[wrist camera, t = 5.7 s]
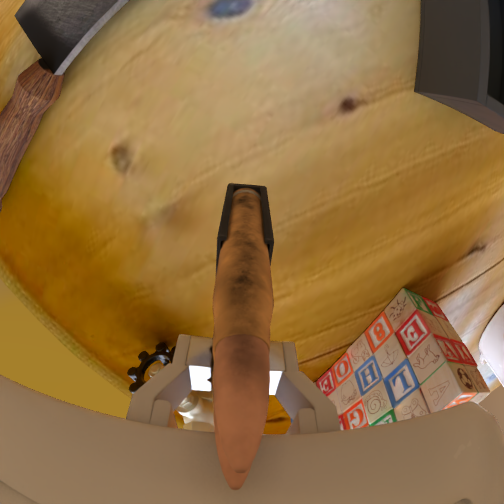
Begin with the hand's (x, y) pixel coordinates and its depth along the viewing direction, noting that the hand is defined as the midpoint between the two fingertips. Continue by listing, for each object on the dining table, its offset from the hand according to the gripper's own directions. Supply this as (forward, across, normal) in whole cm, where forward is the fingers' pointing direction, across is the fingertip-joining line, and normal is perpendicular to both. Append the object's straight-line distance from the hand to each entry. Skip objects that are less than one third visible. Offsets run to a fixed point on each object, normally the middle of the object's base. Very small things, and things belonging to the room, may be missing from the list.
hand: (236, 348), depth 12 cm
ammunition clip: (+5, 0, 0) cm, 5 cm away
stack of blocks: (+11, +14, -15) cm, 23 cm away
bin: (+10, +16, +20) cm, 28 cm away
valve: (+10, -5, -18) cm, 21 cm away
